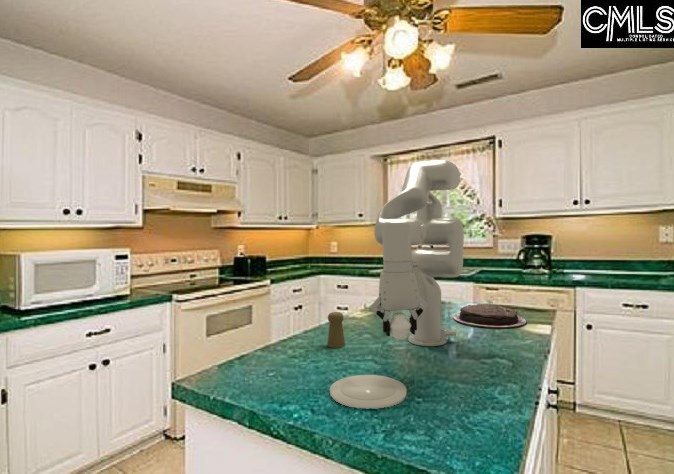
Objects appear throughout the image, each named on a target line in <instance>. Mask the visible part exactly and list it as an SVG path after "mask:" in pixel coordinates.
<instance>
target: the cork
mask: <svg viewBox="0 0 674 474" xmlns="http://www.w3.org/2000/svg"><path fill="white" fill-rule="evenodd" d="M327 321H328V322H329V325H328V326H329V328H328V334H327V335H328V336H327V343H326V344H327V345H326V346H327V347H328V348H331V349H339V348H344V347H345V346H346V340H345V334H344V329H343V321H344V314H343V313H342V312H340V311H332V312H330V313H329V314H328V316H327Z"/></svg>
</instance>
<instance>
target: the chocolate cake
mask: <svg viewBox="0 0 674 474" xmlns="http://www.w3.org/2000/svg"><path fill="white" fill-rule="evenodd" d="M452 317H453V320H454V321H455V322H457V323H459V324H463V325H464V326H466V327H467V326H468V327H475V328H483V329H495V330H503V329H505V330H506V329H511V328H514V329H516V328H517V329H518V328H520V327H521V326H524V325H525V324H527V320H526V319H525V318H524V317H522V316H519V315H518V313H517V309H516V310H515V309H513V308H509V307H508V308H506V307H504V306H501V305H497V304H489V303H488V304H486V303H485V304H483V303H481V304H480V303H479V304H468V305H466V306H463V307H461V308H460V309H459V313H456V314H454V315H453V316H452Z"/></svg>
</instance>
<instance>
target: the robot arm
mask: <svg viewBox="0 0 674 474" xmlns="http://www.w3.org/2000/svg"><path fill="white" fill-rule="evenodd" d="M459 169H460V168H458V166H457V165H456V164H455V163H454V162H451V161H450V160H448V159H447V160H446V159H440V160H439V159H438V160H427V161H418V162H414V163H413V164H411V165H410V166H409V167H408V169H407V171H406V174H405V178H404V182H403V184H402V187H401V191H400V192H399V193H398V194H396V195H394V197H392V198H391V199H390V200H388V201H387V202H386V203H384V205H383V206H382V207H381V208H380V210H379V212H378V215H377V218H376V221H375V225H374V230H373V231H374V232H373V234H374V240H375V241H376V242H377V243H378V244H379V245H382V259H383V262H382V263H383V271H380V275H379V283H378V286H379V287H378V297H377V298H376V299H375V300H374V301H373V303H371V305H370V306H369V308H370V310H371V311H372V312H373V313H375V315H377V317H379V318H380V319H381V320H382V331H383V333H385V335H386V337H390V336H391V331H390V320H389V317H390V314H391V312H395V311H396V312H397V311H398V312H399V311H409V314H410V317H409V318H408V320H409V321H410V323H411V328H410V331H409V333H411V335H410V336H409V335H408V341H409V342H410V343H411V344H413V345H416V346H422V347H437V346H443V345H445V344H446V343H447V337H452V336H453V337H456V336H457V331H456V330H455V329H448V328H447V329H444V328H443V326H442V324H443V323H442V321H443V320H442V289H441V287H440V285H439V283H438V282H437V280H436V279H435V278H457V277H459V276H460V275H461V274H462V272H463V268H464V267H463V266H464V245H465V244H464V241H465V240H464V239H465V235H464V234H465V233H464V231H465V230H464V225H463V222H462V220H461V219H459V218H458V217H449V216H448V217H443V215H442V213H443V205H442V203H441V201H440V200H439V199H438V198H437V196H435V194H433V193H432V192H433V191H434V192H435V191H437V192H438V191H450V190H452V191H453V190H456V189H457V188H458V187H459V186H460V181H461V173H460V171H459ZM415 212H416V218H413V217H412V218H411V217H410V218H402V217H405V216H407V215H410V214H412V213H415ZM418 245H421V246H422V245H423V246H445V248H444V247H443V248H441V247H440V248H439V247H438V248H436V247H423V248H416V249H414V250H412V249H413V248H412V247H413V246H418ZM446 247H448V248H446ZM378 306H380V307H381V309H382V310H383V311H381V310H379V308H378Z"/></svg>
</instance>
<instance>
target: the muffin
mask: <svg viewBox="0 0 674 474" xmlns="http://www.w3.org/2000/svg"><path fill="white" fill-rule="evenodd" d="M389 322H390V334H391V335H392V336H393V338H394V339H395V340H404V339H405V340H406V339H407V337H408V336H409V333H410V328H411V323H410V321H409V318H408V317H407V315H406V314H405V313H404V312H400V311H398V312H394V313H393V315H392V318H391V320H389Z"/></svg>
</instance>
